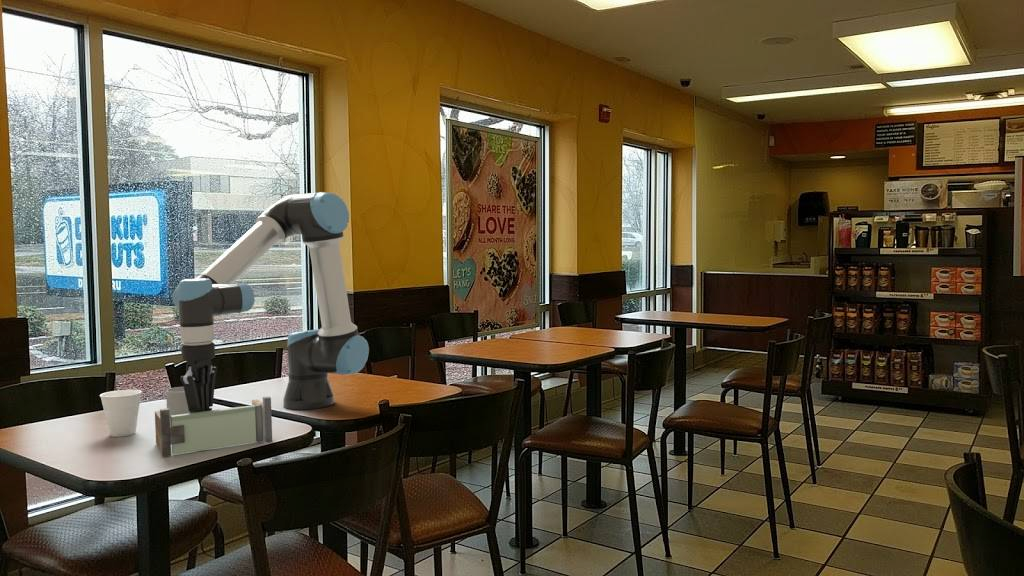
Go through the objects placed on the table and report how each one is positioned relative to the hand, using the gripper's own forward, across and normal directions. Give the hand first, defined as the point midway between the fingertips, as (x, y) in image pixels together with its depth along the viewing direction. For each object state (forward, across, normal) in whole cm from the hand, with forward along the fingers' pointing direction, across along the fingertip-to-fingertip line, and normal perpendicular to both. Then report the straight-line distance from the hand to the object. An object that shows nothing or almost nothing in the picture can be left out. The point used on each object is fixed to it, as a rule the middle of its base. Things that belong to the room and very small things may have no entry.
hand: (202, 438), depth 184 cm
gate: (+2, +1, +5) cm, 5 cm away
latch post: (+2, +3, -7) cm, 8 cm away
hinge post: (+2, -11, +10) cm, 15 cm away
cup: (+3, -10, -29) cm, 31 cm away
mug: (+3, -18, -16) cm, 25 cm away
